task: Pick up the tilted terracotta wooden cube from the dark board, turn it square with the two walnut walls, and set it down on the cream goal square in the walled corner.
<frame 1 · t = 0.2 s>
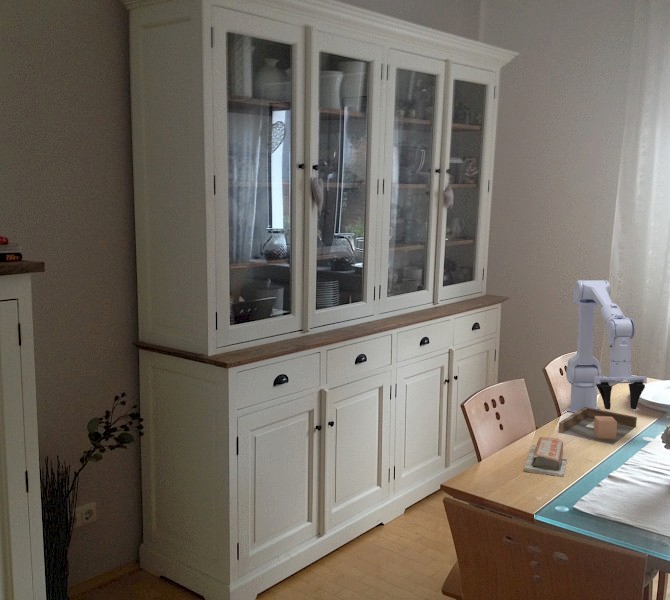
hand: (620, 408, 208), 11 cm above the table, tool pointing down, fingers open, 7 cm apart
cube: (604, 435, 214), point 1 cm above the table, touching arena
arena: (597, 432, 219), on the table
packaged product: (546, 464, 196), on the table
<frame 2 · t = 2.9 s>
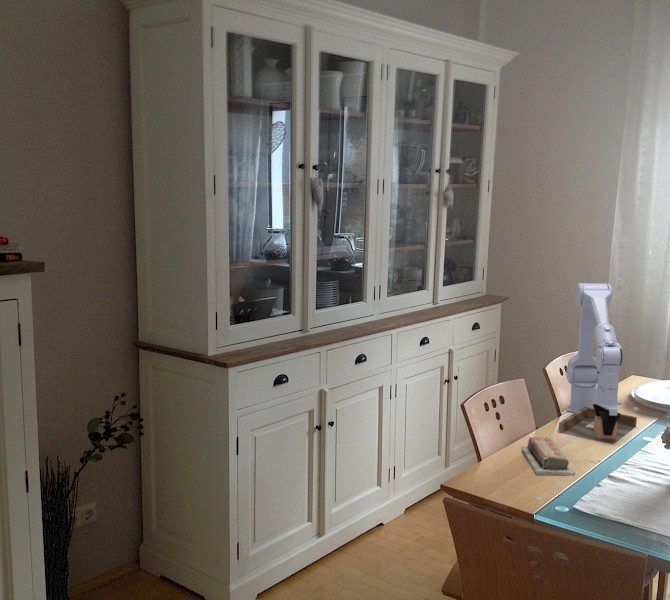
hand: (604, 431, 213), 2 cm above the table, tool pointing down, fingers closed on cube, 5 cm apart
cube: (604, 435, 214), point 1 cm above the table, touching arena, gripper
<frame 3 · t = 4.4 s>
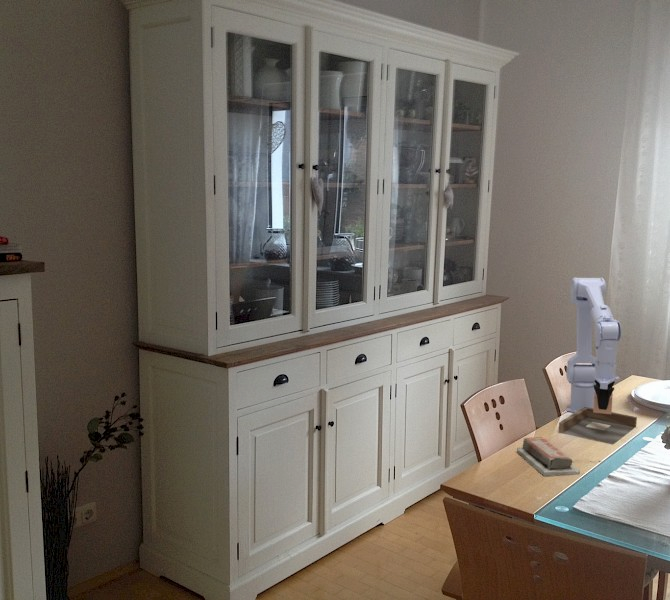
hand: (603, 406, 216), 9 cm above the table, tool pointing down, fingers closed on cube, 5 cm apart
cube: (602, 410, 217), point 7 cm above the table, touching gripper
when the fingers open (4 cm above the table, at t = 6.1 s): cube drops 1 cm, resting on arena.
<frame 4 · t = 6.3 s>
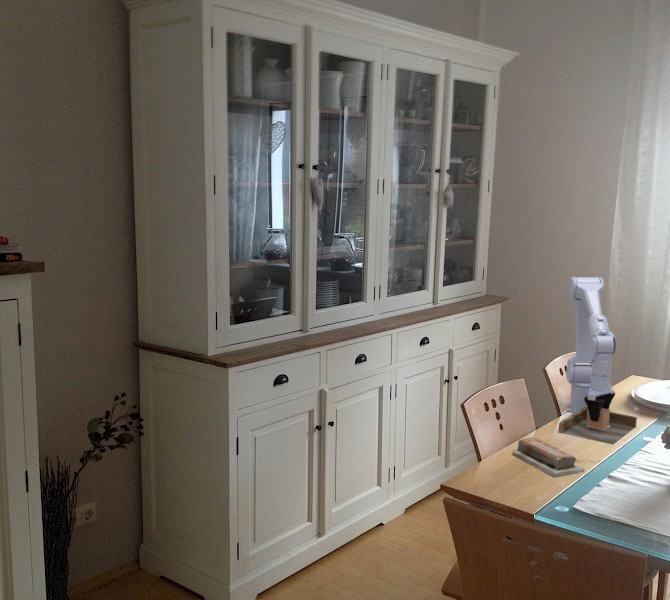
hand: (598, 418, 221), 4 cm above the table, tool pointing down, fingers open, 7 cm apart
cube: (597, 425, 222), point 1 cm above the table, touching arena
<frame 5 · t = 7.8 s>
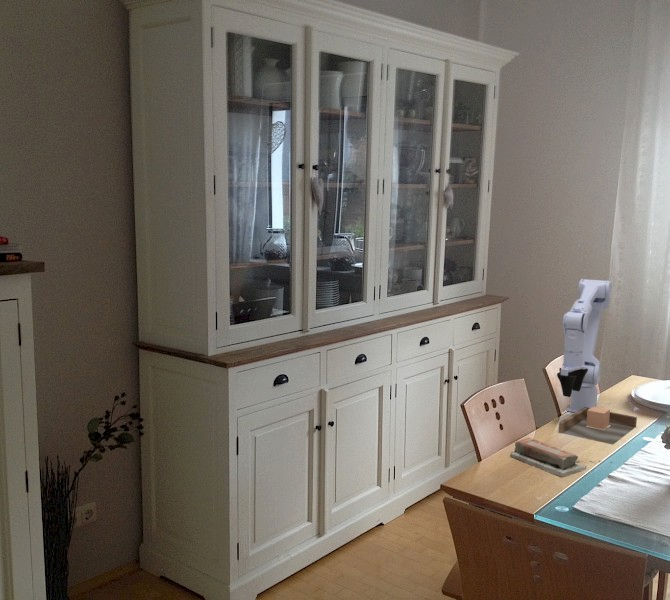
hand: (571, 393, 227), 9 cm above the table, tool pointing down, fingers open, 7 cm apart
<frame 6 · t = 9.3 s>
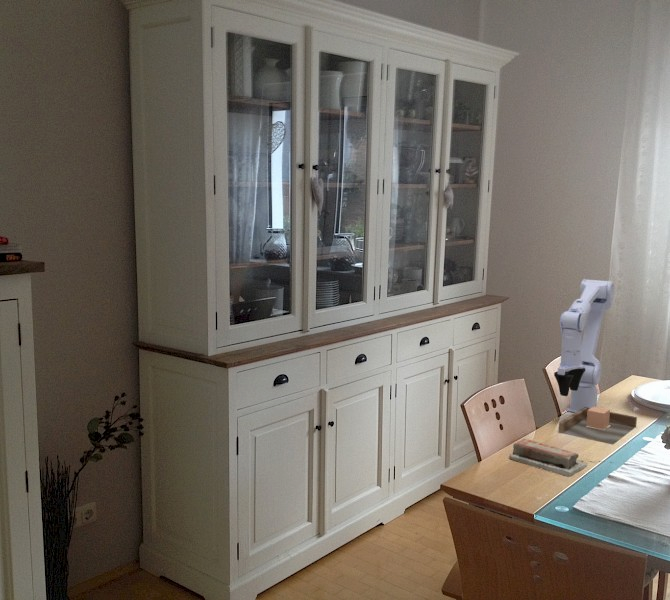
hand: (568, 392, 228), 9 cm above the table, tool pointing down, fingers open, 7 cm apart
at the end: cube 0.1 cm from the target spot on the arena, point 1.1 cm above the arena's base; cube tilted 0°; the gripper is holding nothing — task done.
